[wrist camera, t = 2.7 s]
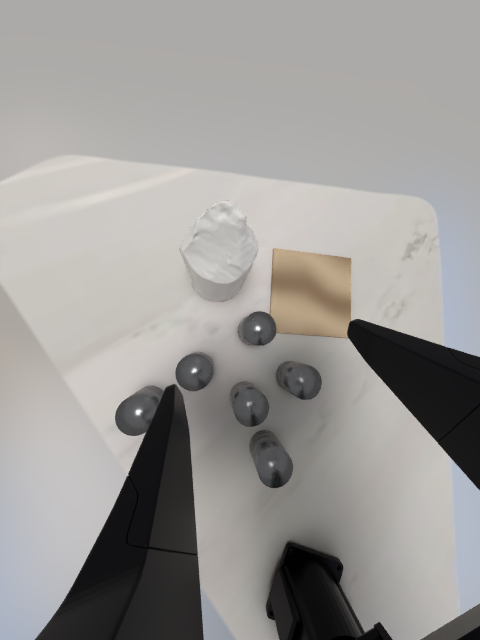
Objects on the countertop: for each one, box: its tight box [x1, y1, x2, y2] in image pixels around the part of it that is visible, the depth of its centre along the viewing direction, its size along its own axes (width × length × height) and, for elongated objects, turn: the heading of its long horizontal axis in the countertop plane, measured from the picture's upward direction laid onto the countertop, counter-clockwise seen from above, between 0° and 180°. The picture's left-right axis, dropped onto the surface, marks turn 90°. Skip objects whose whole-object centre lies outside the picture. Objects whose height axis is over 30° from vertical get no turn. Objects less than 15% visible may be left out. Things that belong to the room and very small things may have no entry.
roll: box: [180, 200, 258, 302], centre depth 18 cm, size 6×12×6 cm
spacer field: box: [115, 311, 322, 488], centre depth 20 cm, size 16×14×4 cm
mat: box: [270, 248, 351, 338], centre depth 25 cm, size 10×10×1 cm
